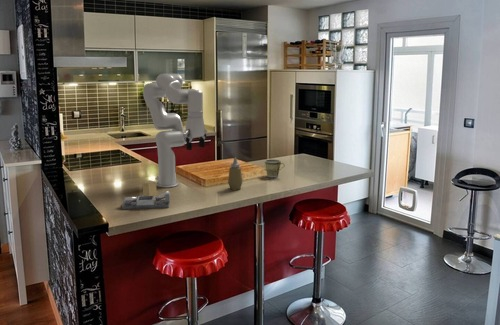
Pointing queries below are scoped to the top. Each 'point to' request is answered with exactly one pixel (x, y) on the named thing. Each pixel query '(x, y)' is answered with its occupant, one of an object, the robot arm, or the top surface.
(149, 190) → the beige rectangular block
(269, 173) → the ceramic cup
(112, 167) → the top surface
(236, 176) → the squeeze bottle
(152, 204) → the shaft mount
